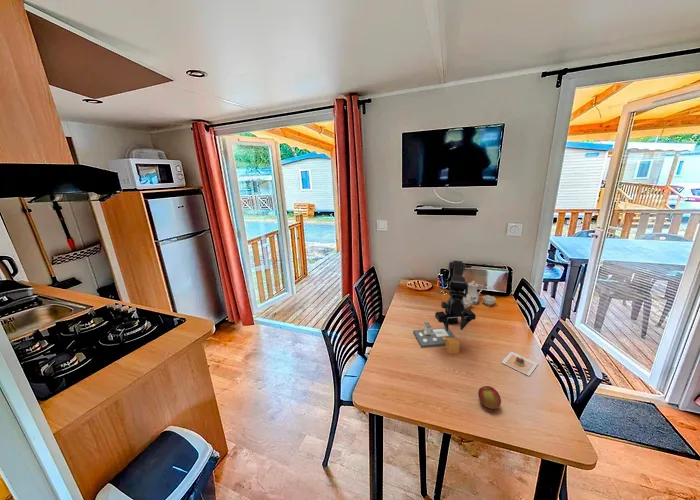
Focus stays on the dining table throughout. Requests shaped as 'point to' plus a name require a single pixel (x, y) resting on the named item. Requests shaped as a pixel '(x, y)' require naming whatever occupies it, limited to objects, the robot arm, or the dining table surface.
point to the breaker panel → (433, 337)
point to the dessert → (520, 362)
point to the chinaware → (476, 296)
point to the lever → (427, 328)
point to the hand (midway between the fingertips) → (453, 330)
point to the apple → (489, 397)
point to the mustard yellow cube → (452, 345)
